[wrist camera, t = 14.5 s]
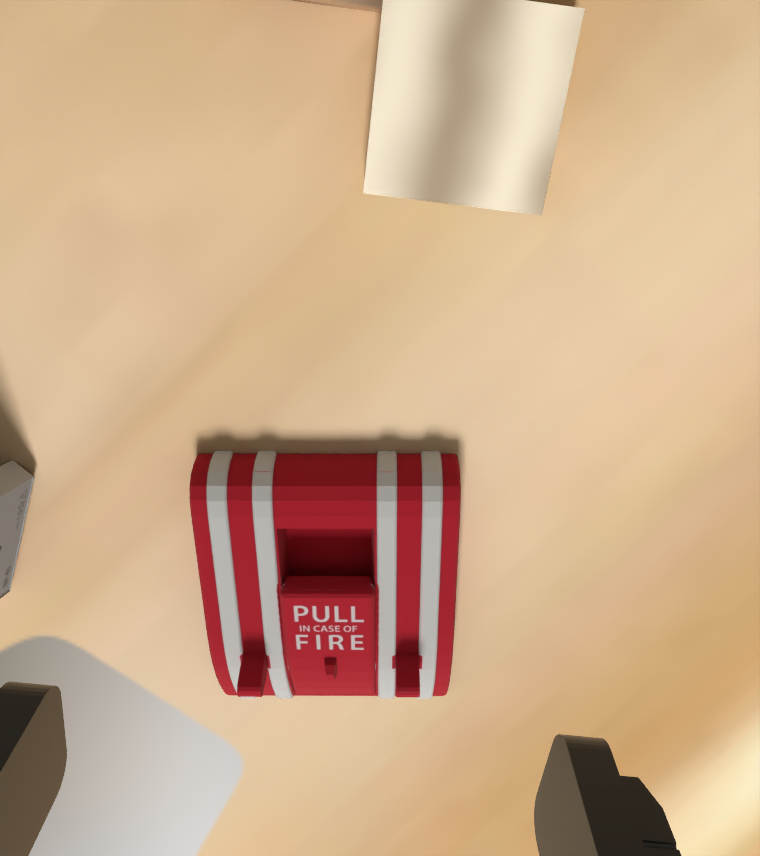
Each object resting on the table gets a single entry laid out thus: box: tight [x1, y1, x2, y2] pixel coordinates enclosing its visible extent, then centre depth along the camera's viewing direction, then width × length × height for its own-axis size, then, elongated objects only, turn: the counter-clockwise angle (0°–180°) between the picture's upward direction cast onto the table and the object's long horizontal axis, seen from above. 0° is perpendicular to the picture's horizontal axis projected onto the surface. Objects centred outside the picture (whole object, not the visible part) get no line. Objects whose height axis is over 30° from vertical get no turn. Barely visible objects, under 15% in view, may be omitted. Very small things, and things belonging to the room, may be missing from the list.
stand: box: [363, 0, 585, 215], centre depth 34 cm, size 9×9×2 cm
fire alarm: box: [190, 451, 461, 699], centre depth 45 cm, size 16×6×20 cm
